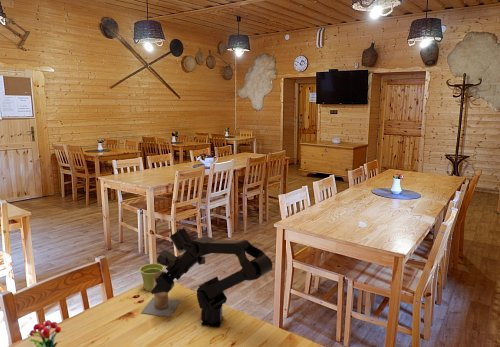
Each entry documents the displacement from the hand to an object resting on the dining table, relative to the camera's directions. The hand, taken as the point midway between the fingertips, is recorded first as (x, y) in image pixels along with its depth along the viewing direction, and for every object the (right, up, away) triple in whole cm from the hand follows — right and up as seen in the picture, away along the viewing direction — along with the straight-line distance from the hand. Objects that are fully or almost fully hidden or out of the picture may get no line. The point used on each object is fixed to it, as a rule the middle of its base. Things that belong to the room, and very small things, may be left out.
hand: (157, 286), depth 141 cm
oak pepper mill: (+1, -8, +1) cm, 8 cm away
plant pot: (-6, -5, +15) cm, 17 cm away
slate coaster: (+1, -8, +1) cm, 8 cm away
